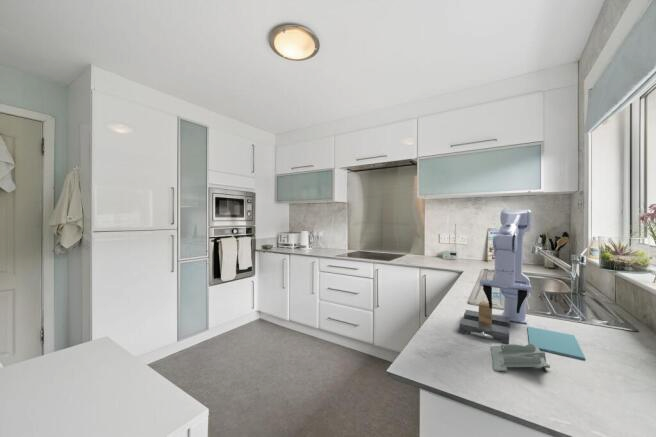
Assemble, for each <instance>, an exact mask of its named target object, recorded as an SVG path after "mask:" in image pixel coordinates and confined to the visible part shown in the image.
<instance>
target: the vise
mask: <svg viewBox="0 0 656 437" xmlns="http://www.w3.org/2000/svg"><path fill="white" fill-rule="evenodd" d="M458 325H459V327H458V334H464V335H465V334H470V335H473V336H475V337H476V336H477V337H482V338H485V339H490V340H496V341H501V343H502V344H505V345H510V332H511V331H510V330H511V329H510V327H511V326H510V325H511V321H510V318H509V317H504V316H503V315H497V314H493V313H492V324H488V323H483V322H479V311H475V310H470V309H469V310H468V309H465V311H464V313H463V318H461V319H460V321H459V323H458Z"/></svg>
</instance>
